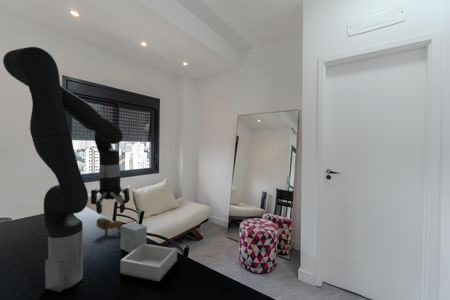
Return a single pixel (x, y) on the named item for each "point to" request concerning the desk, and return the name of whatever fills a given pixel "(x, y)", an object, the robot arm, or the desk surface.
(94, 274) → the desk surface
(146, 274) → the tray
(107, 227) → the lion figurine
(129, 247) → the skincare box
